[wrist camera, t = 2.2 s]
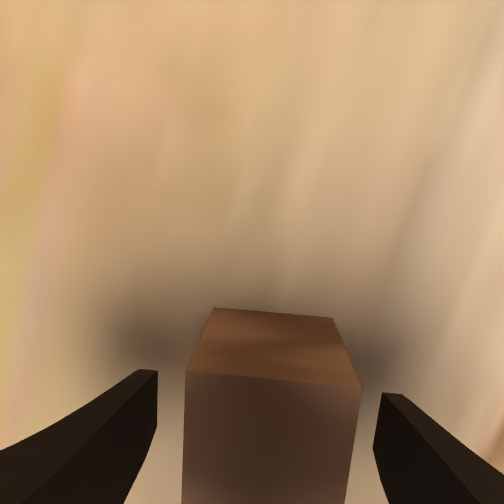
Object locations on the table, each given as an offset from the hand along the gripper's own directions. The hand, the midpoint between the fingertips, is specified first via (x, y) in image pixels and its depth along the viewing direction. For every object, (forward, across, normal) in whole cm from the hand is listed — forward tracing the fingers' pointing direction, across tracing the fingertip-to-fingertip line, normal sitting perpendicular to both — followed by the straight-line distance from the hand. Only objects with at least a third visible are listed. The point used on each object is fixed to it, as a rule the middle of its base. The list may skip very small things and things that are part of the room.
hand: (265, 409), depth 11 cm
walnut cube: (+3, 0, 0) cm, 3 cm away
